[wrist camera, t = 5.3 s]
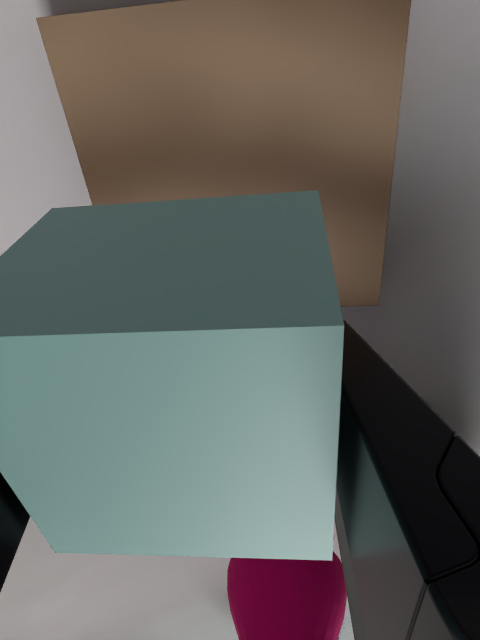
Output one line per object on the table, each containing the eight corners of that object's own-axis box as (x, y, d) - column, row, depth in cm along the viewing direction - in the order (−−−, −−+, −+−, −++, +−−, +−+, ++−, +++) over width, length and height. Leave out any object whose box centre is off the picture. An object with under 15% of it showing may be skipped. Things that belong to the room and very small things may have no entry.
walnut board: (373, 289, 19) (378, 305, 18) (133, 299, 21) (125, 313, 20) (404, -26, 13) (414, -28, 12) (52, 16, 14) (35, 17, 13)
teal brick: (316, 391, 11) (332, 560, 8) (119, 394, 11) (55, 552, 8) (317, 190, 8) (344, 325, 5) (52, 208, 8) (-90, 339, 5)
